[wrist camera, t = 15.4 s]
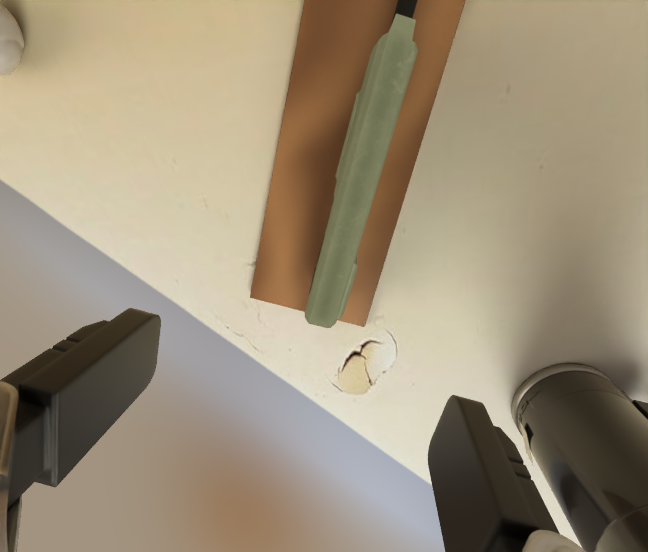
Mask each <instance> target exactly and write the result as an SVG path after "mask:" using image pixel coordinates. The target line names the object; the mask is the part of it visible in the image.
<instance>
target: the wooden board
mask: <svg viewBox="0 0 648 552" xmlns="http://www.w3.org/2000/svg"><path fill="white" fill-rule="evenodd" d="M397 2H398V0H305V2H304V7H303V13H302V18H301V24H300V29H299V34H298V40H297V45H296V51H295V56H294V62H293V67H292V72H291V78H290V83H289V89H288V94H287V100H286V105H285V110H284V116H283V121H282V127H281V132H280V138H279V143H278V148H277V154H276V159H275V165H274V170H273V176H272V181H271V186H270V192H269V197H268V203H267V208H266V214H265V219H264V224H263V230H262V235H261V241H260V246H259V251H258V257H257V262H256V268H255V273H254V279H253V284H252V289H251V295H250V298H254V299H258V300H262V301H266V302H270V303H273V304H277V305H281V306H285V307H289V308H293V309H297V310H301V311H304V312H305V310H306V306H307V302H308V298H309V291H310V287H311V283H312V279H313V275H314V271H315V268H316V264H317V260H318V256H319V252H320V248H321V245H322V241H323V237H324V235H325V231H326V227H327V222H328V218H329V214H330V211H331V207H332V203H333V199H334V191H335V187H336V183H337V180H336V177H335V175H336V173H337V169H338V165H339V161H340V157H341V153H342V150H343V146H344V142H345V138H346V134H347V130H348V127H349V123H350V119H351V115H352V111H353V107H354V103H355V99H356V94H357V93H358V92H359V91H361V88H362V84H363V80H364V77H365V73H366V70H367V66H368V62H369V59H370V55H371V53H372V51H373V48H374V47H375V45H376V44H377V42H378V41H379V39H380V38H381V37H382V36H383V35H385V34H386V33H388V32H389V30H390V28H391V24H392V20H393V17H394V13H395V9H396V6H397ZM464 3H465V0H418V1H417V4H416V8H415V11H414V15H413V18H412V19H415V20H416V22H415V28H414V33H413V38H412V41H414V42H415V43H416V46H417V50H418V51H417V55H416V59H415V62H414V66H413V69H412V72H411V76H410V79H409V82H408V86H407V89H406V92H405V96H404V99H403V102H402V106H401V109H400V112H399V115H398V119H397V122H396V125H395V129H394V132H393V135H392V139H391V142H390V145H389V149H388V152H387V155H386V159H385V162H384V165H383V169H382V172H381V175H380V179H379V182H378V185H377V189H376V192H375V195H374V199H373V202H372V205H371V209H370V212H369V215H368V218H367V222H366V225H365V228H364V232H363V235H362V238H361V242H360V245H359V248H358V252H357V264H358V269H357V272H356V276H355V279H354V282H353V285H352V289H351V292H350V295H349V298H348V302H347V305H346V308H345V311H344V315H343V316H342V317H341V319H339V321H343V322H347V323H351V324H355V325H358V326H362V327H364V326H365V323H366V320H367V317H368V313H369V310H370V307H371V304H372V301H373V297H374V294H375V291H376V288H377V284H378V281H379V278H380V275H381V272H382V268H383V265H384V262H385V259H386V255H387V252H388V249H389V246H390V242H391V239H392V236H393V233H394V230H395V226H396V223H397V220H398V217H399V213H400V210H401V207H402V204H403V200H404V197H405V194H406V191H407V188H408V184H409V181H410V178H411V175H412V171H413V168H414V165H415V162H416V158H417V155H418V152H419V149H420V146H421V142H422V139H423V136H424V133H425V129H426V126H427V123H428V120H429V116H430V113H431V110H432V107H433V104H434V100H435V97H436V94H437V91H438V87H439V84H440V81H441V78H442V74H443V71H444V68H445V65H446V62H447V58H448V55H449V52H450V49H451V45H452V42H453V39H454V36H455V32H456V29H457V26H458V23H459V20H460V16H461V13H462V10H463V7H464Z"/></svg>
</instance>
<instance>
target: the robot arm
mask: <svg viewBox="0 0 648 552" xmlns="http://www.w3.org/2000/svg"><path fill="white" fill-rule="evenodd" d="M160 327H161V320H160V317H159V315H155V314H152V313H148V312H145V311H141V310H137V309H133V308H129V309H127V310H126V311H124V312H123V313H121V314H120V315H118V316H117V317H115V318H114V319H113V320H111V321H105V320H104V321H100V322H97V323H94V324H91V325H88V326H85V327H82V328H81V329H79V330H78V331H76V332H74V333H73V334H71V335H70V336H68V337H67V339H66V340H62V341H61V342H59V343H57V344H56V345H54V346H53V348H52V349H48V350H47V351H45V352H43V353H42V354H40V355H39V356H37V357H35V358H34V359H32V360H31V361H29V362H28V363H26V364H25V365H23V366H22V367H20V368H19V369H17V370H15V371H14V372H12V373H11V374H9V375H7V376H6V377H4V378H3V379H1V380H0V552H17V546H18V535H19V527H20V517H21V508H22V494H23V493H24V492H25V491H26V490H27V489H28V488H29V487H30V486H31V485H32V484H33V483H34V482H38V483H42V484H45V485H49V486H53V487H57V485H58V484H59V483H60V482H61V481H62V480H63V479H64V478H65V477H66V476H67V474H68V473H69V472H70V471H71V470H72V469H73V467H75V466H76V464H77V463H78V462H79V461H80V460H81V459H82V458H83V457H84V456H85V455H86V453H87V452H88V451H89V450H90V449H91V448H92V446H93V445H94V444H96V442H97V441H98V440H99V439H100V438H101V437H102V436H103V435H104V434H105V432H106V431H107V430H108V429H109V428H110V427H111V426H112V425H113V424H114V423H115V421H116V420H117V419H118V418H119V417H120V416H121V415H122V414H123V413H124V412H125V410H126V409H127V408H128V407H129V406H130V405H131V404H132V403H133V402H134V401H135V399H136V398H137V397H138V396H139V395H140V394H141V393H142V392H143V391H144V389H145V388H146V387H147V386H148V384H149V383H150V381H151V379H152V377H153V375H154V372H155V368H156V364H157V354H158V345H159V336H160ZM512 417H513V420H514V422H515V424H516V426H517V428H518V430H519V432H520V433H521V435H522V436H523V439H524V443H525V448H526V453H527V454H528V456H529V458H530V460H531V462H532V457H531V452H532V454H533V456H534V458H535V460H536V462H537V464H538V465H539V467H540V469H541V471H542V473H543V475H544V477H545V479H546V480H547V482H548V484H549V486H550V488H551V490H552V492H553V493H554V495H555V497H556V499H557V501H558V503H559V505H560V507H561V508H562V510H563V512H564V514H565V516H566V518H567V520H568V522H569V523H570V525H571V527H572V529H573V531H574V533H575V535H576V537H577V538H578V540H579V542H580V544H581V546H582V548H583V549H582V548H581V547H580V546H578V545H577V544H576V543H574V542H573V541H571V540H570V539H568V538H566V537H564V536H563V535H560V533H559V531H558V529H557V527H556V525H555V523H554V521H553V519H552V517H551V515H550V513H549V511H548V510H547V508H546V506H545V504H544V502H543V500H542V498H541V496H540V494H539V492H538V490H537V488H536V486H535V484H534V482H533V480H531V476H530V474H529V472H528V470H527V468H526V466H525V465H523V460H522V458H521V456H520V454H519V452H518V450H517V448H516V446H515V444H514V443H513V442H512V441H511V440H510V438H509V437H508V436H507V435H506V434H505V433H504V432H503V431H502V430H501V428H500V427H496V426H493V424H492V422H491V419H490V417H489V415H488V413H487V411H486V408H485V406H484V405H483V403H481V402H478V401H474V400H470V399H466V398H463V397H459V396H455V395H452V396H451V397H450V398H449V399H448V401H447V403H446V406H445V408H444V411H443V413H442V415H441V418H440V420H439V422H438V425H437V427H436V429H435V432H434V434H433V436H432V439H431V442H430V446H429V451H428V465H429V471H430V476H431V481H432V486H433V491H434V496H435V501H436V506H437V511H438V516H439V521H440V526H441V531H442V536H443V541H444V547H445V552H648V403H645V402H641V401H637V400H634V401H633V400H632V399H631V398H630V397H629V396H628V395H627V394H626V393H625V392H623V391H620V390H618V388H617V387H616V386H615V385H614V383H613V382H612V381H611V380H610V379H609V378H608V377H606V376H605V375H604V374H603V373H601V372H600V371H598V370H596V369H594V368H592V367H589V366H585V365H580V364H560V365H555V366H551V367H548V368H545V369H543V370H541V371H539V372H537V373H535V374H534V375H532V376H531V377H529V378H528V379H527V380H526V381H525V382H524V383H523V384H522V385H521V386H520V387H519V389H518V390H517V392H516V394H515V396H514V399H513V402H512ZM530 450H531V452H530ZM532 464H533V462H532Z"/></svg>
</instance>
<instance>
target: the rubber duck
mask: <svg viewBox="0 0 648 552" xmlns="http://www.w3.org/2000/svg"><path fill="white" fill-rule="evenodd" d="M23 49H24V39H23V35H22V33H21V30H20V28H19V25H18V23H17V21H16V19H15V18H14V17H13V16H12V14H11V13H10V12H9V11H8V10H7V9H6V8H5V7H4V6H3V5H2V4H1V3H0V75H10V74H11V73H12V72H13V71H14V70H15V68H16V67H17V66H18V64H19V63H20V61H21V58H22V52H23Z"/></svg>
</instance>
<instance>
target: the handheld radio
mask: <svg viewBox="0 0 648 552" xmlns="http://www.w3.org/2000/svg"><path fill="white" fill-rule="evenodd" d="M417 1H418V0H398V2H397V6H396V9H395V13H394V17H393V20H392V24H391V28H390V30H389V32H388V33H386V34H385V35H383V36H382V37H381V38H380V39H379V41H378V42H377V44H376V45H375V47H374V48H373V51H372V53H371V55H370V59H369V62H368V66H367V70H366V73H365V77H364V80H363V84H362V88H361V91H359V92H358V93H357V94H356V99H355V103H354V107H353V111H352V115H351V119H350V123H349V127H348V130H347V134H346V138H345V142H344V146H343V150H342V153H341V157H340V161H339V165H338V169H337V173H336V175H335V177H336V180H337V183H336V187H335V191H334V199H333V203H332V207H331V211H330V214H329V218H328V222H327V227H326V231H325V235H324V237H323V241H322V245H321V248H320V252H319V256H318V260H317V264H316V268H315V271H314V275H313V279H312V283H311V287H310V291H309V298H308V302H307V306H306V310H305V318H306V320H307V322H308V323H309V324H313V325H317V326H322V327H326V328H331V327H332V326H333V325H334V324H335V323H336V321H337V320H339V319H341V317H342V316H343V315H344V311H345V308H346V305H347V302H348V298H349V295H350V292H351V289H352V285H353V282H354V279H355V276H356V272H357V269H358V264H357V252H358V248H359V245H360V242H361V238H362V235H363V232H364V228H365V225H366V222H367V218H368V215H369V212H370V209H371V205H372V202H373V199H374V195H375V192H376V189H377V185H378V182H379V179H380V175H381V172H382V169H383V165H384V162H385V159H386V155H387V152H388V149H389V145H390V142H391V139H392V135H393V132H394V129H395V125H396V122H397V119H398V115H399V112H400V109H401V106H402V102H403V99H404V96H405V92H406V89H407V86H408V82H409V79H410V76H411V72H412V69H413V66H414V62H415V59H416V55H417V51H418V50H417V46H416V43H415V42H414V41H412V38H413V33H414V28H415V22H416V20H415V19H412V18H413V15H414V11H415V8H416V4H417Z"/></svg>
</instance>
